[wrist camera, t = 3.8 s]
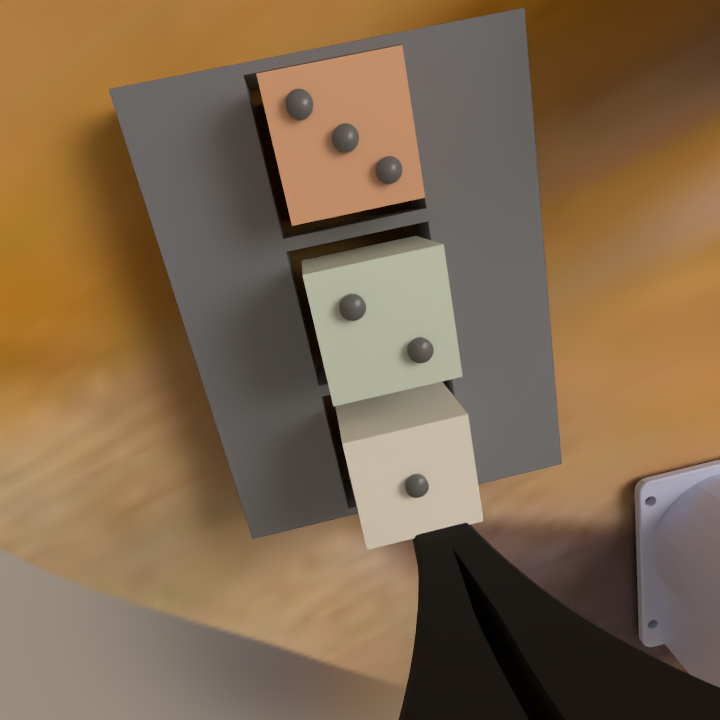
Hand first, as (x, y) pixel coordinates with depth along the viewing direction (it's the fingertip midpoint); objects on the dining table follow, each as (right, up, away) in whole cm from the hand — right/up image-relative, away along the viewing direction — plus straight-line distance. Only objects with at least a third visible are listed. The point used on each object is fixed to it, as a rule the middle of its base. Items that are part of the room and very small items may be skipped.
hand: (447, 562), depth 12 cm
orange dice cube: (-3, +12, +5) cm, 13 cm away
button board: (-2, +7, +7) cm, 10 cm away
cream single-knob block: (-1, +2, +7) cm, 7 cm away
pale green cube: (-2, +7, +5) cm, 9 cm away
